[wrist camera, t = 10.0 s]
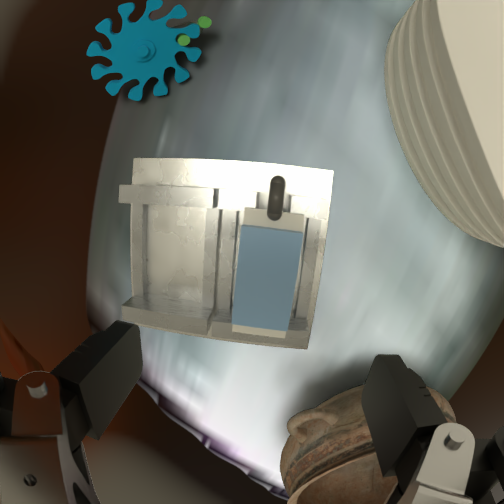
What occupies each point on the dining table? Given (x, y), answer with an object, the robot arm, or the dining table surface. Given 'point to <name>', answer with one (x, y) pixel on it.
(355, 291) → the dining table surface
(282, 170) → the plate
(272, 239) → the block
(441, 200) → the plate stack
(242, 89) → the dining table surface
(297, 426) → the cooking pot
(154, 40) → the gear
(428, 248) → the dining table surface
